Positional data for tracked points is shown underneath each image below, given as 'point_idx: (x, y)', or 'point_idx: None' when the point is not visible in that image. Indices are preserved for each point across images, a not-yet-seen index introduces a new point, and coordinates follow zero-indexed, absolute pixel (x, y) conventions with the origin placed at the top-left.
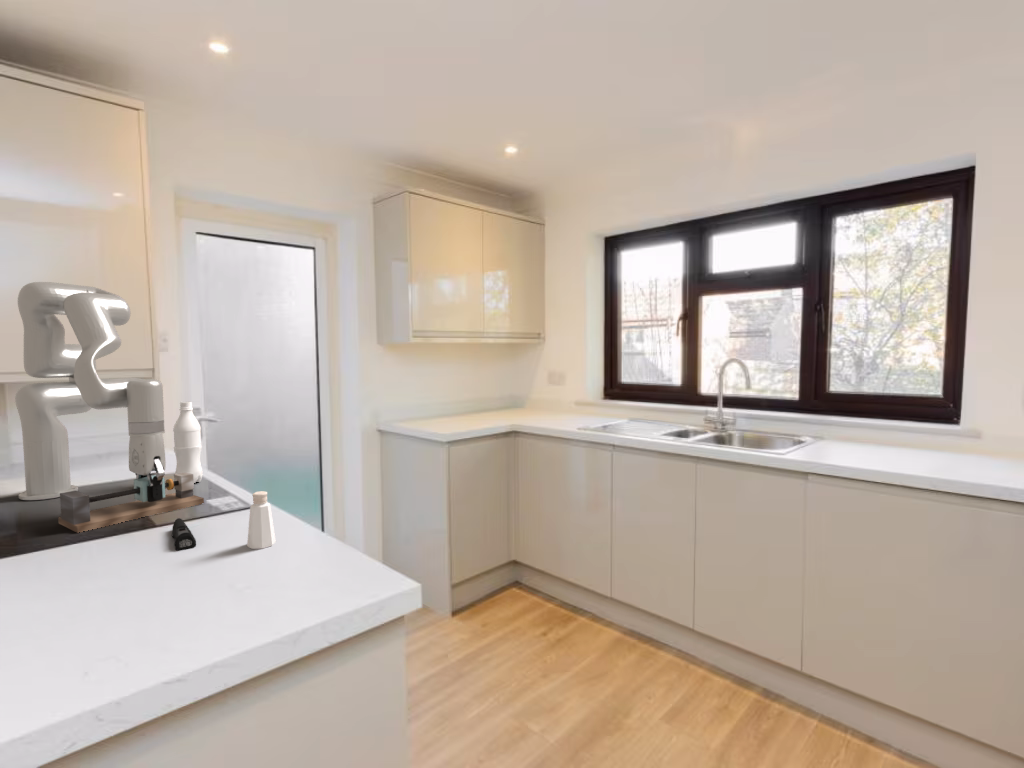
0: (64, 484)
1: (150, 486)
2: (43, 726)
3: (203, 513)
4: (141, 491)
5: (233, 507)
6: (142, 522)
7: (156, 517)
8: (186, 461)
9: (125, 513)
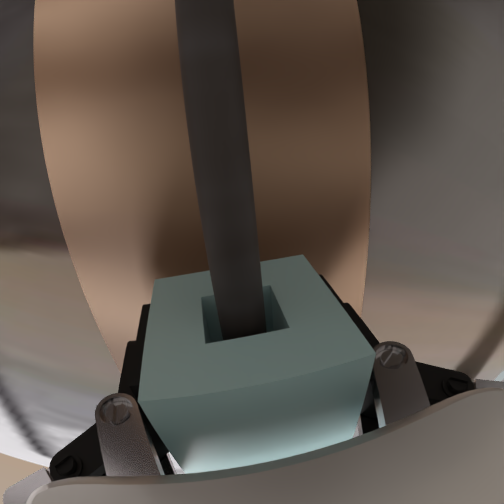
0: None
1: (106, 397)
2: None
3: (28, 389)
4: (173, 322)
5: (61, 442)
6: (5, 207)
7: (50, 273)
8: None
9: (91, 149)
